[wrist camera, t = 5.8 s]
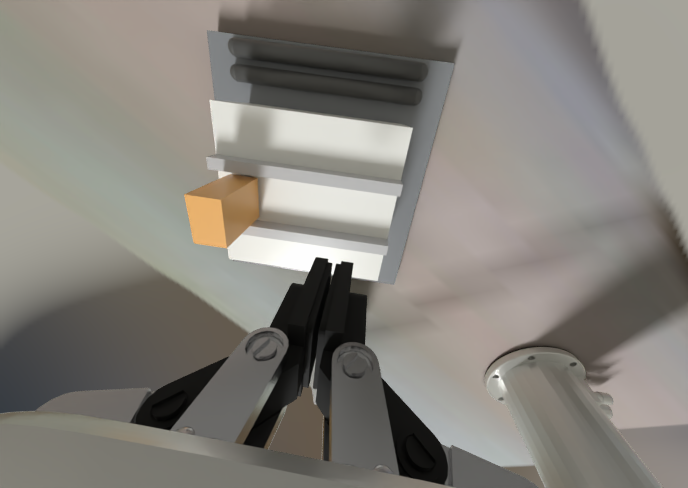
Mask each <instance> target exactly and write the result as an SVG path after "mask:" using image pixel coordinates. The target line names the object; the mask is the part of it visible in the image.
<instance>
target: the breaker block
mask: <svg viewBox="0 0 688 488" xmlns="http://www.w3.org/2000/svg"><path fill="white" fill-rule="evenodd" d="M207 35H208V44H209V53H210V62H211V71H212V79H213V88H214V97H215V100H210V109H211V117H212V125H213V133H214V141H215V149H216V154H215V155H211V156H208V157H206V159H207V166H208V169H210V170H217V171H218V174H219V179H220V178H222V177H224V176H227V175H229V174H233V175H241V176H248V177H255V178H258V197H259V218H258V219H257V220H256V221H255V222H254V223H252V224H251V225H250V226H249V227H248V228H247V229H246V230H245V231H244V232H243V233H242V234H241V235H240V236H239V237H238V238H237V239H236V240H235V241H234V242H233V243H232V244H231V245H230V246H229V247H228V255H229V259H233V261H238V262H245V263H252V264H258V265H265V266H272V267H279V268H285V269H292V270H299V271H306V272H309V271H310V269H311V267H312V264H313V262H314V260H315V258H316V257H320V258H326V259H328V262H330V263H332V272H331V275H332V276H333V273H334V270H335V266H336V263H337V264H341V261H345V262H351V263H354V264H353V271H352V278H353V279H359V280H366V281H373V282H379V283H386V284H393V285H394V284H395V280H396V276H397V273H398V269H399V265H400V262H401V258H402V254H403V251H404V247H405V243H406V240H407V236H408V232H409V229H410V225H411V222H412V218H413V214H414V211H415V207H416V203H417V200H418V196H419V192H420V189H421V185H422V181H423V178H424V174H425V170H426V167H427V163H428V159H429V156H430V152H431V148H432V145H433V141H434V138H435V134H436V130H437V127H438V123H439V119H440V116H441V112H442V108H443V105H444V101H445V97H446V94H447V90H448V86H449V83H450V79H451V75H452V72H453V68H454V64H455V63H449V62H441V61H434V60H426V59H419V58H411V57H404V56H396V55H389V54H381V53H374V52H366V51H359V50H351V49H344V48H336V47H329V46H321V45H314V44H306V43H298V42H291V41H283V40H276V39H268V38H261V37H253V36H246V35H238V34H231V33H223V32H216V31H208V30H207Z"/></svg>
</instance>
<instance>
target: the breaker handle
mask: <svg viewBox="0 0 688 488" xmlns="http://www.w3.org/2000/svg"><path fill="white" fill-rule="evenodd" d="M184 196H185V201H186V206H187V211H188V216H189V221H190V226H191V231H192V236H193V241H194V243H195V244H202V245H208V246H215V247H222V248H228V247H229V246H230V245H231V244H232V243H233V242H234V241H235V240H236V239H237V238H238V237H239V236H240V235H241V234H242V233H243V232H244V231H245V230H246V229H247V228H248V227H249V226H250V225H251V224H252V223H254V222H255V221H256V220H257V219H258V218H259V197H258V178H255V177H248V176H241V175H233V174H229V175H227V176H224V177H222V178H220V179H218V180H216V181H213V182H211V183H209V184H207V185H204V186H202V187H200V188H198V189H195V190H193V191H191V192H189V193H187V194H184Z"/></svg>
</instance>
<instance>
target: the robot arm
mask: <svg viewBox="0 0 688 488" xmlns="http://www.w3.org/2000/svg"><path fill="white" fill-rule="evenodd" d="M353 264H354V263H351V262H345V261H341V264H337V263H336V266H335V270H334V273H333V277H332V281H331V285H330V280H331V272H332V263H330V262H328V259H326V258H320V257H316V258H315V260H314V262H313V264H312V267H311V269H310V271H309V274H308V276H307V279H306V281H305V283H304V285H302V284H296V283H292V284H291V286H290V288H289V290H288V292H287V294H286V296H285V298H284V300H283V302H282V304H281V306H280V308H279V310H278V312H277V314H276V315H275V317H274V319H273V321H272V323H271V325H270V327H267V328H260V329H257V330H255V331H253V332H251V333H249V334H248V335H247V336H246V337H245V338H244V339H243V340H242V342H241V343H240V344H239V346H238V347H237V348H236V349H235V350H234V352H233V353H232V354H231V355H230V356H229V357H227V358H224V359H222V360H220V361H218V362H215V363H213V364H211V365H209V366H207V367H204V368H202V369H200V370H198V371H196V372H194V373H191V374H189V375H187V376H185V377H182V378H180V379H178V380H176V381H174V382H171V383H169V384H167V385H165V386H163V387H162V388H160V389H158V390H157V391H150V388H134V389H115V390H95V391H77V392H72V393H67V394H64V395H61V396H59V397H57V398H54V399H52V400H51V401H49V402H47V403H46V404H44V405H43V406H41V407H40V408H38V409H37V410H36V411H24V412H10V413H2V414H0V488H538V487H537V486H536V485H535V484H534V483H532V482H531V481H529V480H528V479H526V478H524V477H522V476H520V475H518V474H515V473H513V472H511V471H509V470H507V469H504V468H502V467H500V466H498V465H496V464H493V463H491V462H489V461H487V460H484V459H482V458H480V457H478V456H475V455H473V454H471V453H469V452H467V451H464V450H462V449H460V448H458V447H455V446H453V445H452V446H451V447H450V448H449V447H446V446H444V445H442V444H441V443H440V442H439V441H438V439H437V438H436V437H435V435H434V434H433V433H432V432H431V431H430V430H429V429H428V428H427V427H426V425H425V424H424V423H423V422H422V421H421V420H420V419H419V418H418V417H417V416H416V415H415V414H414V412H413V411H412V410H411V409H410V408H409V407H408V406H407V405H406V404H405V403H404V402H403V401H402V399H401V398H400V397H399V396H398V395H397V394H396V393H395V392H394V391H393V390H392V389H391V387H390V386H389V385H388V384H387V383H386V382H385V381H384V380H383V379H382V378H381V373H380V367H379V362H378V359H377V356H376V355H375V354H374V352H373V351H372V350H371V349H370V348H369V347H367V346H365V332H366V306H367V295H362V294H356V293H350V285H351V278H352V271H353ZM315 359H316V362H315ZM314 363H315V371H314V381H313V389H317V392H316V401H315V403H316V404H317V406H318V407H319V409H320V410H321V412H322V414H323V415H324V417H323V438H322V460H318V459H314V458H308V457H303V456H298V455H293V454H288V453H283V452H278V451H273V450H268V449H269V446H270V444H271V442H272V440H273V438H274V435H275V433H276V431H277V429H278V426H279V424H280V422H281V420H282V418H283V416H284V413H285V411H286V407H287V405H288V404H290V403H291V402H293V401H294V400H296V399H297V396H301V393H302V389H303V387H307V388H308V387H309V383H310V379H311V375H312V371H313V367H314ZM585 378H586V371H585V368H584V366H583V365H582V364H581V362H580V361H579V360H578V359H577V358H576V357H575V356H574V355H573V354H571V353H569V352H567V351H564V350H561V349H558V348H551V347H533V348H526V349H522V350H518V351H515V352H512V353H509V354H507V355H505V356H503V357H501V358H500V359H498V360H497V361H496V362H495V363H493V364H492V365H491V366H490V368H489V369H488V370H487V372H486V375H485V380H484V382H485V386H486V388H487V390H488V393H489V394H490V396H491V397H492V398H493V399H495V400H496V401H498V402H500V403H502V404H504V405H506V406H507V408H508V410H509V412H510V414H511V416H512V418H513V420H514V422H515V425H516V427H517V429H518V431H519V433H520V435H521V437H522V439H523V441H524V444H525V446H526V448H527V450H528V452H529V454H530V456H531V458H532V460H533V463H534V465H535V467H536V469H537V471H538V473H539V475H540V477H541V479H542V481H543V483H544V486H545V488H663V486H662V485H661V484H660V483H659V481H658V480H657V479H656V478H655V476H654V475H653V474H652V473H651V472H650V470H649V469H648V467H647V466H646V465H645V464H644V462H643V461H642V460H641V459H640V457H639V456H638V455H637V454H636V452H635V451H634V450H633V448H632V447H631V446H630V445H629V444H628V442H627V441H626V440H625V438H624V437H623V436H622V434H621V433H620V432H619V431H618V429H617V428H616V427H615V426H614V424H613V423H612V422H611V421H610V419H611V418H612V416H613V414H612V410H611V408H610V407H609V406H608V405H612V404H613V398H612V397H611V396H610V395H609V394H607V393H602V392H593V391H592V389H591V388H590V387H589V386H588V384H587V383H586V382H585Z"/></svg>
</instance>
